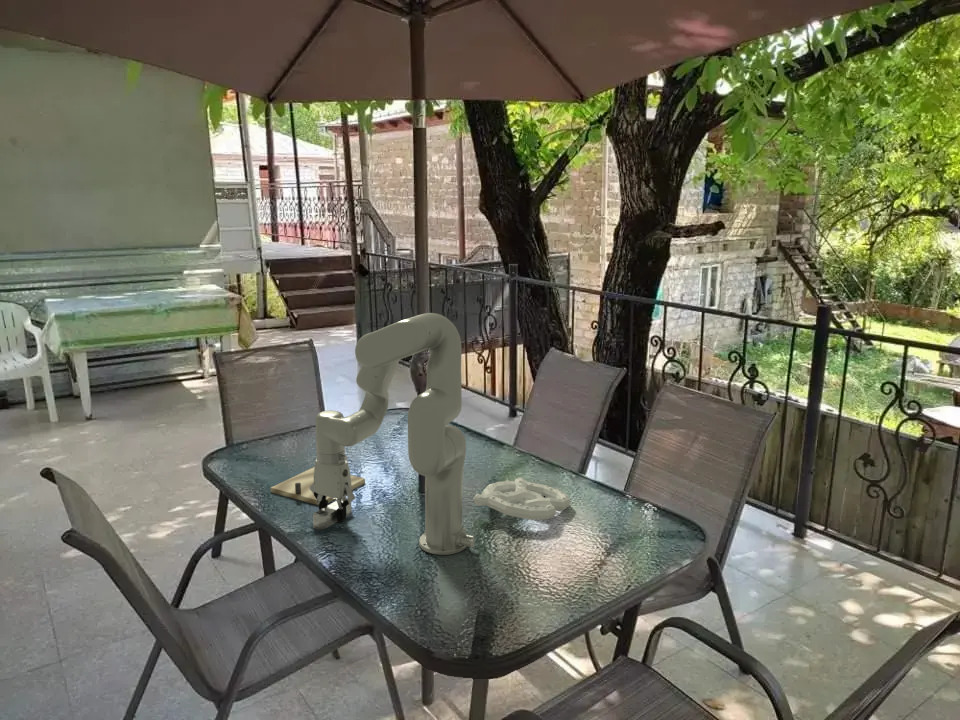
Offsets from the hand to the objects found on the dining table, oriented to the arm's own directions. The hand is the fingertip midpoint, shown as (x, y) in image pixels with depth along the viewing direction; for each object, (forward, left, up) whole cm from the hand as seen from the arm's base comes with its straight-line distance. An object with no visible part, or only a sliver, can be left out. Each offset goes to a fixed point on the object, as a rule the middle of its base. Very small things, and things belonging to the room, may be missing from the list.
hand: (332, 517), depth 194 cm
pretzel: (-43, -33, -1) cm, 54 cm away
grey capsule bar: (0, 0, -1) cm, 1 cm away
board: (+18, -15, -1) cm, 23 cm away
